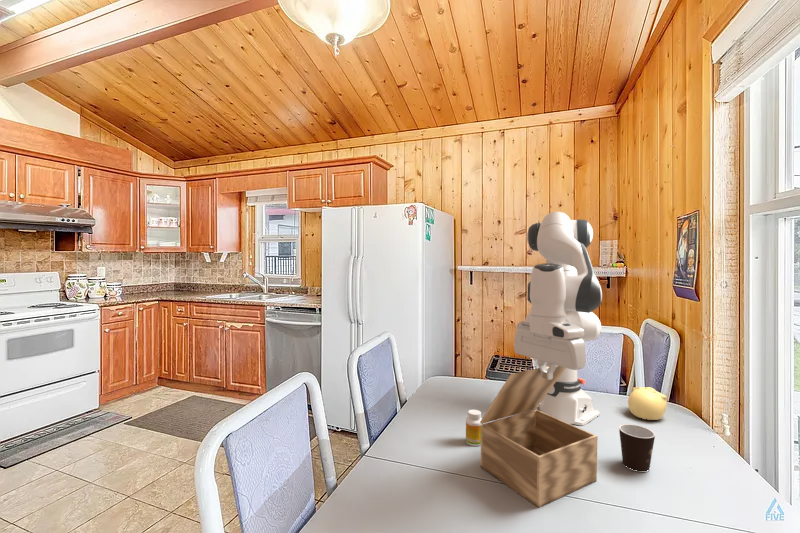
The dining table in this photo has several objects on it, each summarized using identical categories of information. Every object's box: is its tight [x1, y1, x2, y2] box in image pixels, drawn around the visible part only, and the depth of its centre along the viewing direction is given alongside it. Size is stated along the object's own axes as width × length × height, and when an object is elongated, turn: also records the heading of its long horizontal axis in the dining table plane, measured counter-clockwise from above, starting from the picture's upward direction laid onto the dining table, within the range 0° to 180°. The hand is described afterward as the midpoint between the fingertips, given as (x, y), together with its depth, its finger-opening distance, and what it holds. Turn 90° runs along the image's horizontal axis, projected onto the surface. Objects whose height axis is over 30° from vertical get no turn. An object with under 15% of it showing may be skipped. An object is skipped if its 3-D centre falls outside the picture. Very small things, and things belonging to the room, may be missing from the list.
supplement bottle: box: [465, 409, 482, 447], centre depth 122 cm, size 5×5×10 cm
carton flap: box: [480, 365, 566, 424], centre depth 108 cm, size 22×20×1 cm
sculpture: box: [627, 386, 668, 421], centre depth 142 cm, size 12×12×11 cm
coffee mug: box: [618, 423, 656, 471], centre depth 110 cm, size 12×9×10 cm
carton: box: [480, 409, 599, 509], centre depth 105 cm, size 22×20×12 cm
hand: (546, 378), depth 102 cm, fingers closed
